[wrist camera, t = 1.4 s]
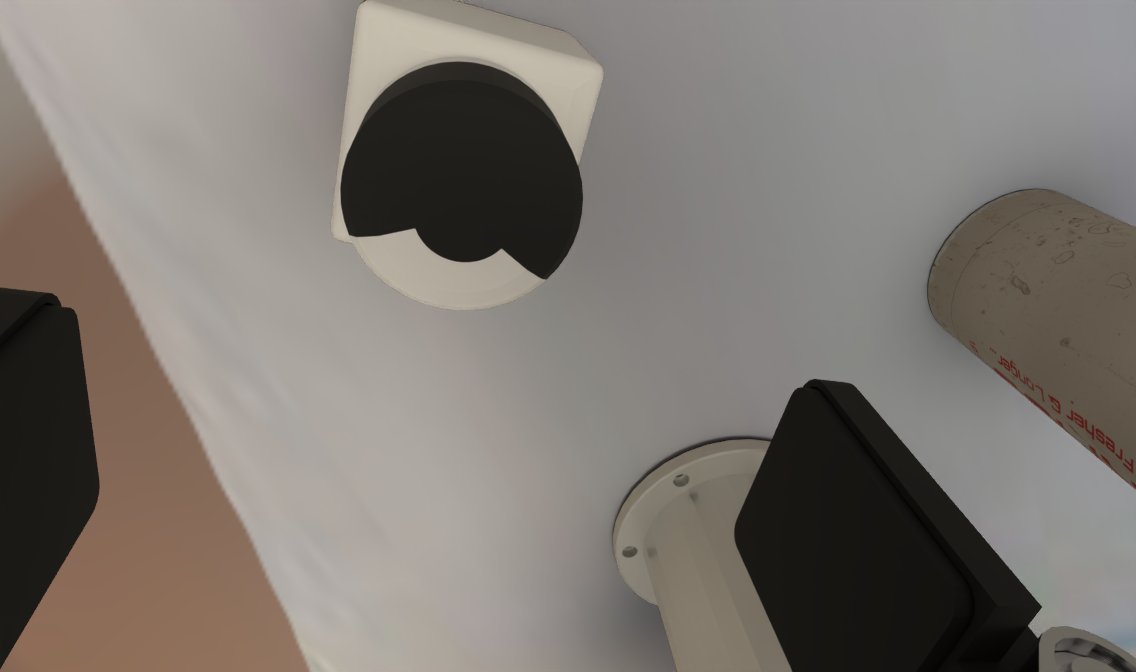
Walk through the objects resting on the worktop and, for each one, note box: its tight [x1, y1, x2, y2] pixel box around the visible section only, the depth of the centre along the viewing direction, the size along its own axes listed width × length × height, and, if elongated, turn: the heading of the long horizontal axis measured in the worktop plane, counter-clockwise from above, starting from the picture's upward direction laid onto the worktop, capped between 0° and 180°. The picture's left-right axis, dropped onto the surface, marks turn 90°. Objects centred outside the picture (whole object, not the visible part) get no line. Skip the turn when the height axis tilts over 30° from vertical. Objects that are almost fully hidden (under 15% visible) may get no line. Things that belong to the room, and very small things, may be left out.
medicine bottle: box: [331, 0, 604, 310], centre depth 23 cm, size 7×7×12 cm
